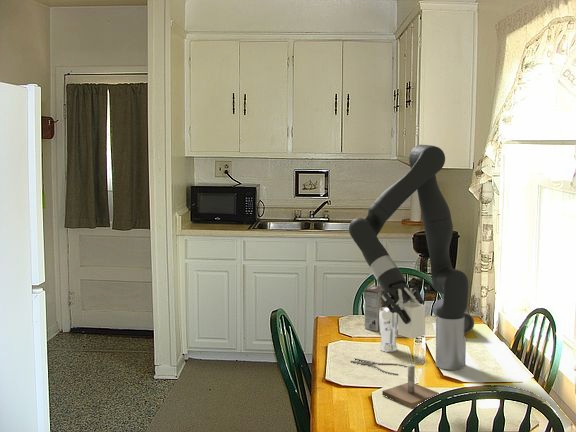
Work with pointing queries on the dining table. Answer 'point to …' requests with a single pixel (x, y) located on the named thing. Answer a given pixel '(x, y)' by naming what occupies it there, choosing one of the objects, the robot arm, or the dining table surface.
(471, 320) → the bluetooth speaker
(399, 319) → the sleeve
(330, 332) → the dining table surface
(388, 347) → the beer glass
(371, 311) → the coffee box
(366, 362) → the pliers
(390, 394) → the post stand
